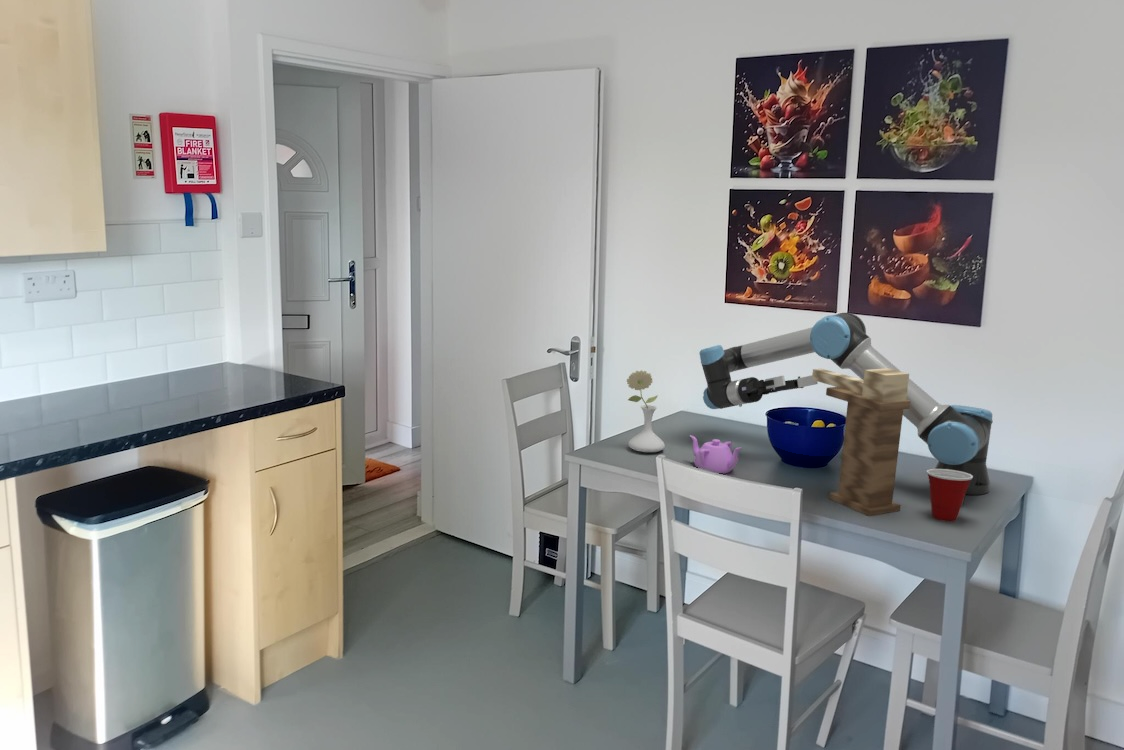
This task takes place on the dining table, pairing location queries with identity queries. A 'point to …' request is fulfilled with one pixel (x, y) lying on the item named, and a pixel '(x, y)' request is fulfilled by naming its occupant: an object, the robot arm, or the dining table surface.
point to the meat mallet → (869, 383)
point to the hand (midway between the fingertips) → (800, 379)
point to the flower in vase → (646, 437)
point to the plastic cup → (947, 492)
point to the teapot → (715, 456)
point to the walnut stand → (869, 453)
